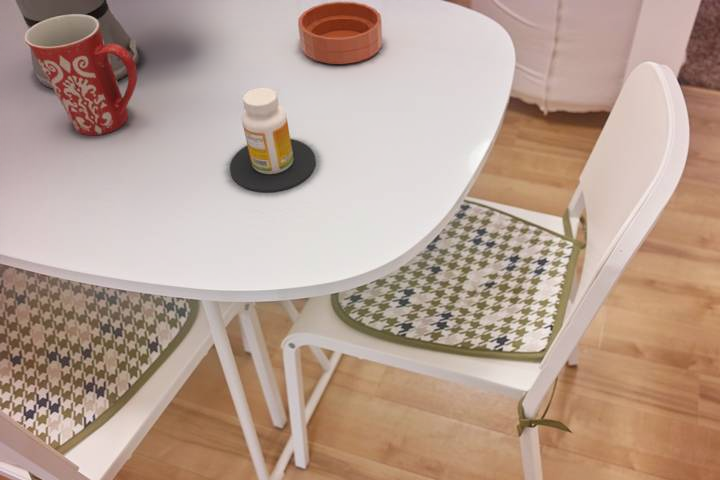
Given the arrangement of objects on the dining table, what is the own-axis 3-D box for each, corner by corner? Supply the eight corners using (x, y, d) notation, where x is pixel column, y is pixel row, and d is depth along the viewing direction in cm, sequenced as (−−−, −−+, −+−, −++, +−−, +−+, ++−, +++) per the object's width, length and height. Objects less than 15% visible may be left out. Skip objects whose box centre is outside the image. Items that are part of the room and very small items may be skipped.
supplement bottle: (289, 146, 81) (278, 80, 74) (297, 170, 78) (286, 104, 71) (249, 154, 80) (233, 88, 73) (255, 179, 77) (239, 112, 70)
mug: (53, 135, 84) (7, 42, 74) (90, 100, 90) (51, 10, 80) (136, 147, 82) (100, 53, 72) (168, 110, 88) (138, 19, 78)
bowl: (287, 42, 102) (283, 15, 99) (354, 20, 107) (353, -6, 104) (327, 75, 95) (324, 47, 91) (397, 50, 100) (397, 23, 97)
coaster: (216, 159, 80) (215, 156, 80) (290, 130, 85) (290, 128, 84) (253, 204, 74) (253, 201, 74) (331, 170, 78) (331, 168, 78)
